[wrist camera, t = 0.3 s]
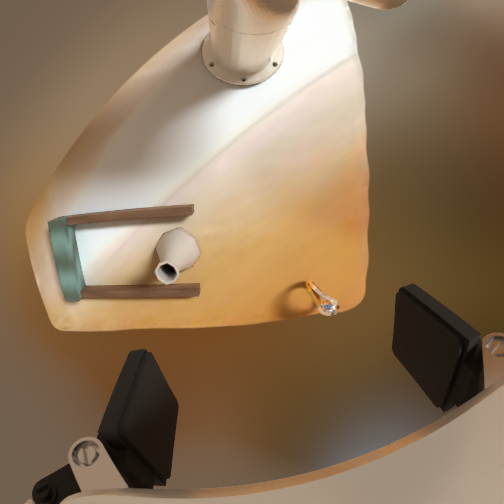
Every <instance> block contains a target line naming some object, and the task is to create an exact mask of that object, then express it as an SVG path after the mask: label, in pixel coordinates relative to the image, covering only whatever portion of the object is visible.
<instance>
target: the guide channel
mask: <svg viewBox="0 0 504 504" xmlns="http://www.w3.org/2000/svg"><path fill="white" fill-rule="evenodd" d="M193 213H194V204H191V205H175V206H161V207H148V208H136V209H125V210H115V211H105V212H96V213H87V214H78V215H70V216H62V217H58V218H56V219H53V220H51V221H49V222H48V226H49V232H50V238H51V243H52V248H53V253H54V258H55V263H56V267H57V271H58V275H59V279H60V283H61V287H62V291H63V294H64V298H65V301H79V300H80V299H81V298H155V297H194V296H199V294H200V283H191V284H168V285H165V284H160V285H109V286H86V285H85V281H84V277H83V272H82V268H81V263H80V258H79V253H78V248H77V242H76V236H75V230H74V224H83V223H93V222H104V221H115V220H126V219H139V218H152V217H166V216H182V215H192V214H193Z"/></svg>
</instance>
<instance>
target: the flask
mask: <svg viewBox="0 0 504 504" xmlns="http://www.w3.org/2000/svg"><path fill="white" fill-rule="evenodd" d="M155 248H156V251H157V254H158V256H159V260H160V263H159V264H158V266H157V268H156V269H155V271H154V272H155V275H156V277H157V279H158V280H159V281H160V282H162V283H164V284H165V285H168V284H171V283H174V282H175V281H176V280H177V278H178V276H179V275H180V273H179V271H182V270H185V269H188V268H191V267H193V265H194V264H195V262H196V261H197V259H198V258H199V256H200V255H201V253H202V252H201V250H200V247H199V245H198V242H197V240H196V237H195V236H193V235H192V234H190V233H189V232H187V231H185V230H184V229H182V228H181V227H178V228H176V229H173V230H171V231H168V232H165V233H163V235H162V237H161V239H160V240H159V242H158V244H157V246H156V247H155Z"/></svg>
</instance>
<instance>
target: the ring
mask: <svg viewBox="0 0 504 504" xmlns="http://www.w3.org/2000/svg"><path fill="white" fill-rule="evenodd" d="M306 287H307V290H308V292H309V294H310V296H311V297H312V299H313V301H314V302H315V304H316V305H317V307H318V310H319V312H320V313H321V314H323V315H327V316H332V315H333V314H336V310H338V309H339V308H340V307H339V305H338V301H337V300H336V299H334V298H331V297H329V296H327V295H326V294H324V293H323V292H322V291H321V290H320V289H319V287H318V286H317V285H316V284H315V283H314V282H313V281H312V280H311V279H310V280H309V281H307V282H306ZM311 287H312V288H313V290H314V291H315V292H316V293H317V294H319V295H320V297H321V298H322V299H323V300H324V301H323V303H321V302H320V301H319V300H318V299H317V297H316V296H315V294H314V293H313V291H312V289H311ZM322 306H323V307H324V309H325V310H324V309H323V308H322Z"/></svg>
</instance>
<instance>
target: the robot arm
mask: <svg viewBox="0 0 504 504" xmlns="http://www.w3.org/2000/svg"><path fill="white" fill-rule="evenodd" d="M347 1H351V2H355V3H358V4H362V5H365V6H369V7H372V8H377V9H385V10H386V9H387V10H389V9H395V8H398V7H400V6H402V5H403V4H405V3H406V2H407V1H408V0H347ZM207 5H208V14H209V24H210V32H209V34H208V35H207V37H206V38H205V40H204V43H203V47H202V56H203V60H204V63H205V65H206V67H207V68H208V70H209V71H210V72H211V73H212V74H213V75H214V76H215V77H217V78H218V79H220V80H222V81H224V82H227V83H230V84H235V85H252V84H256V83H260V82H262V81H264V80H266V79H268V78H269V77H271V76H272V75H273V74H274V73H275V72H276V71H277V70H278V68H279V67H280V65H281V63H282V61H283V56H284V47H283V44H282V39H283V37H284V35H285V33H286V31H287V29H288V28H289V26H290V24H291V22H292V20H293V18H294V16H295V14H296V12H297V10H298V7H299V0H207ZM211 65H213V67H211ZM273 65H275V66H276V67H274V66H273ZM243 79H244V80H245V82H243V81H242V80H243ZM480 335H481V334H480V333H479V332H478V331H476V330H475V329H474V328H473V327H471V326H470V325H469V324H468V323H466V322H465V321H464V320H462V319H461V318H460V317H459V316H457V315H456V314H454V313H453V312H452V311H451V310H449V309H448V308H447V307H445V306H444V305H443V304H441V303H440V302H439V301H437V300H436V299H435V298H433V297H432V296H430V295H429V294H428V293H426V292H425V291H423V290H422V289H421V288H419V287H418V286H416V285H415V284H409V285H407V286H404V287H401V288H400V289H399V292H398V293H397V294H396V301H395V320H394V333H393V344H392V350H393V353H394V355H395V356H396V357H397V359H398V360H399V361H400V362H401V363H402V365H403V366H404V367H405V368H406V370H407V371H408V372H409V373H410V375H411V376H412V377H413V378H414V379H415V381H416V382H417V383H418V385H419V386H420V387H421V388H422V390H423V391H424V392H425V394H426V395H427V396H428V397H429V399H430V400H431V401H432V402H433V404H434V405H435V406H436V407H438V408H439V407H440V408H441V409H442V410H443V412H446V411H447V410H449V409H450V408H452V407H453V406H455V405H456V406H457V407H458V408H456V409H455V410H453V411H452V412H450V413H448V414H446V415H445V416H443V417H441V418H440V419H438V420H436V421H435V422H433V423H431V424H429V425H427V426H426V427H424V428H422V429H420V430H418V431H416V432H414V433H412V434H410V435H408V436H406V437H404V438H402V439H400V440H398V441H396V442H394V443H392V444H389V445H387V446H385V447H382V448H380V449H378V450H375V451H373V452H370V453H368V454H365V455H363V456H360V457H357V458H355V459H352V460H349V461H346V462H343V463H340V464H337V465H334V466H331V467H327V468H324V469H320V470H317V471H313V472H309V473H306V474H301V475H297V476H293V477H288V478H284V479H279V480H274V481H268V482H262V483H256V484H250V485H242V486H234V487H223V488H209V489H185V490H184V489H183V490H182V489H180V490H168V489H167V490H165V489H153V485H156V486H166V479H169V478H170V476H171V467H172V456H173V448H174V440H175V431H176V423H177V416H178V402H177V399H176V398H175V396H174V394H173V392H172V391H171V389H170V387H169V385H168V384H167V381H166V379H165V378H164V376H163V374H162V372H161V370H160V368H159V366H158V364H157V362H156V360H155V358H154V356H153V354H152V353H151V352H147V350H145V349H140V350H133V351H130V353H129V355H128V357H127V359H126V362H125V364H124V366H123V369H122V371H121V374H120V376H119V378H118V381H117V383H116V385H115V388H114V391H113V393H112V395H111V398H110V401H109V403H108V406H107V408H106V411H105V413H104V416H103V419H102V422H101V424H100V427H99V430H98V433H99V434H98V437H97V439H96V438H94V437H85V438H82V439H79V440H78V441H76V442H75V443H74V444H73V445H72V446H71V448H70V450H69V454H68V459H69V464H67V465H66V466H64V467H62V468H61V469H59V470H57V471H56V472H54V473H52V474H50V475H48V476H47V477H45V478H43V479H41V480H40V481H38V482H37V483H36V485H35V486H34V488H33V491H32V497H33V501H31V500H30V499H29V500H28V501H27V502H26V503H25V504H504V334H502V333H492V334H489V335H488V336H486V337H485V338H484V339H483V341H481V340H480Z"/></svg>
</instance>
